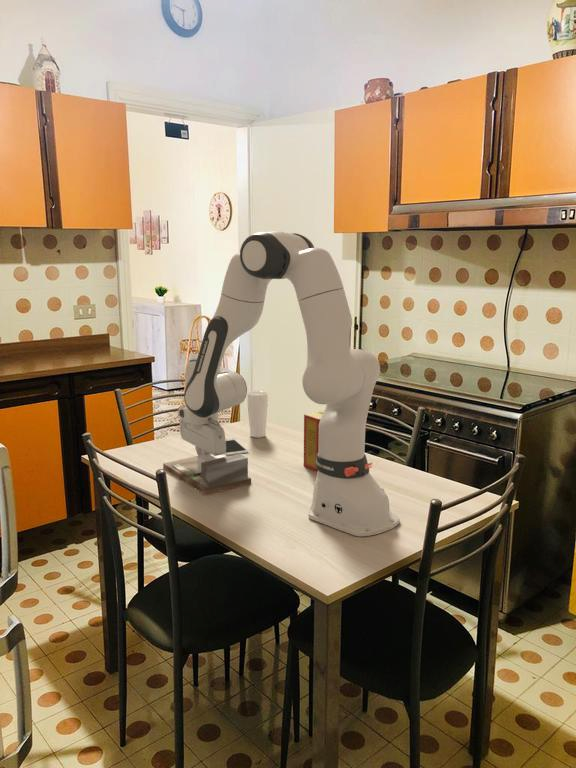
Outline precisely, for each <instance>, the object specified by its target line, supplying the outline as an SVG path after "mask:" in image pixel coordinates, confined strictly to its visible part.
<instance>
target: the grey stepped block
mask: <svg viewBox="0 0 576 768" xmlns="http://www.w3.org/2000/svg"><path fill="white" fill-rule="evenodd" d="M197 456H198V455H195V456H192V457H187V458H182V459H177V460H173V461H168V462H163V464H162V465H163V467H162V468H163V469H164V468H165V469H164V470H166V471H167V472H169V473H170V474H171V475H173V476H175V477H177V479H180V480H181V481H183V482H184V483H186V484H187V485H189V486H191V487H192V488H194V489H195V488H196V489H195V490H197V491H198V490H199V492H201V493H202V494H204V495H205V496H208V495H212V494H215V493H220V492H224V491H227V490H231V489H235V488H236V489H237V488H239V487H242V486H243V487H244V486H246V485H251V484H252V477H249V467H248V466H249V463H248V462H249V461H248V460H249V458H248V457H246V456H245V455H244V454H238V455H230V456H225V457H224V458H220V459H215V460H211V461H206V462H202V463H201V475H197V476H194V474H196V473H198V467H197Z"/></svg>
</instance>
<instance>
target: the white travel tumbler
mask: <svg viewBox="0 0 576 768" xmlns="http://www.w3.org/2000/svg"><path fill="white" fill-rule="evenodd" d="M268 398H269V397H268V392H267V391H263V390H253V391H248V392H247V411H248V414H247V415H248V421H249V422H248V423H249V425H248V426H249V435H250V437H252V438H256V439H257V438H264V437H265V436H266V434H267V417H268V406H269V404H268V402H269V400H268Z"/></svg>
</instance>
